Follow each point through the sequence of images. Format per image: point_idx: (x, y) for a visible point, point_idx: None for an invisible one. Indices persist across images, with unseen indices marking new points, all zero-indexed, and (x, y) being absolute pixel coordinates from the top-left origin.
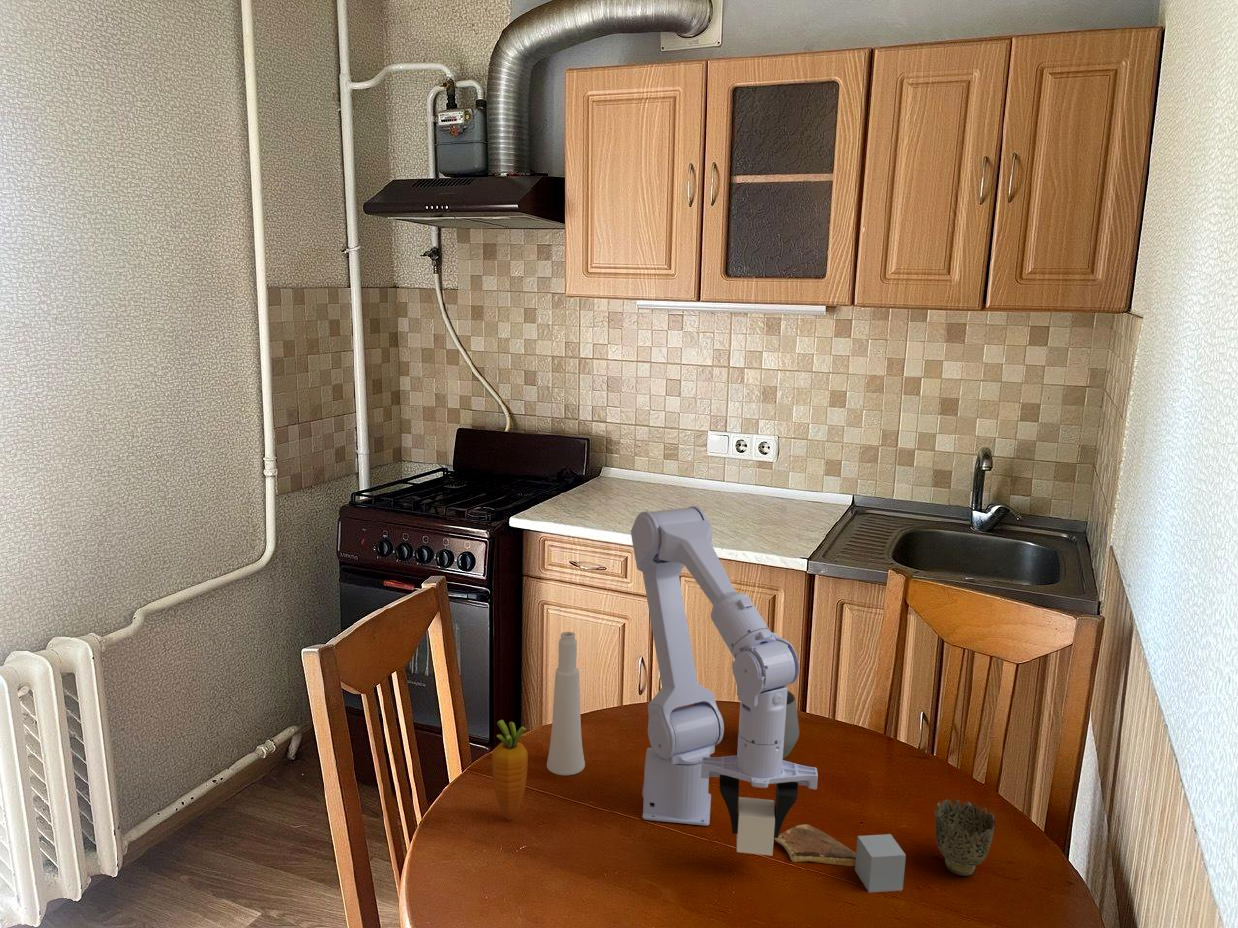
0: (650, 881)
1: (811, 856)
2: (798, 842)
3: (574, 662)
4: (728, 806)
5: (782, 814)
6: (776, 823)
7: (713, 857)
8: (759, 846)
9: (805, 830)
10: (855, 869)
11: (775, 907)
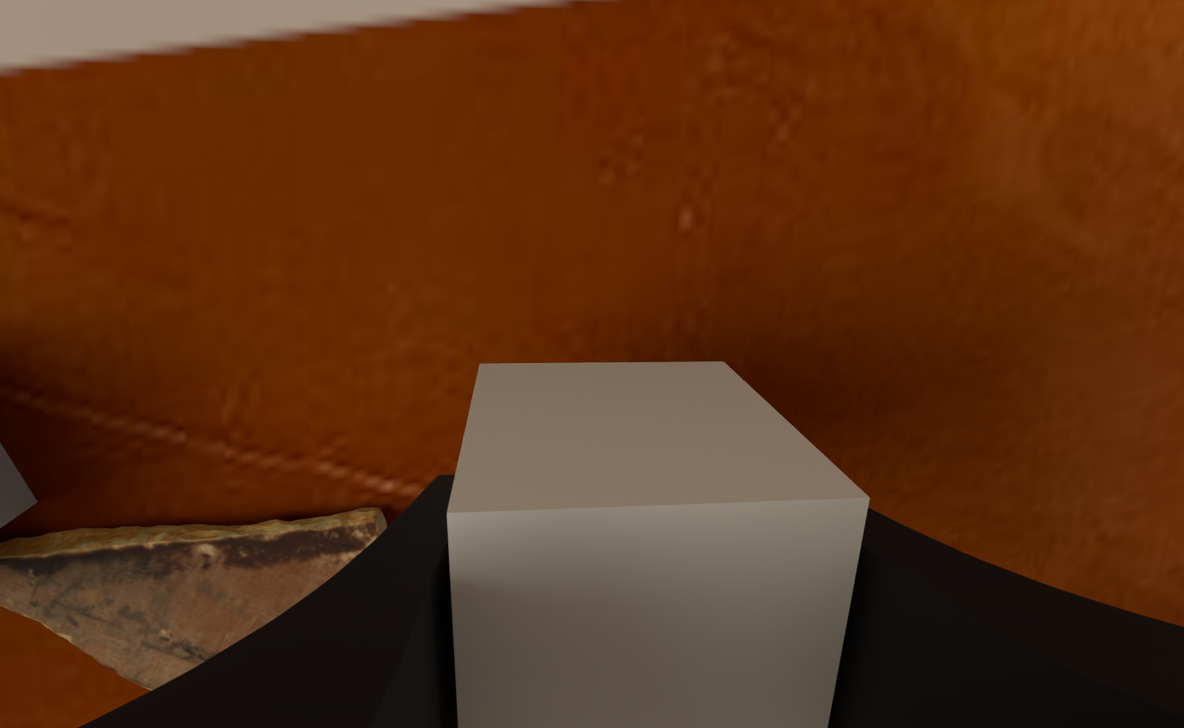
0: (1076, 239)
1: (268, 536)
2: None
3: None
4: (1035, 587)
5: (343, 599)
6: (436, 530)
7: None
8: (580, 383)
9: None
10: (30, 501)
11: (466, 114)
